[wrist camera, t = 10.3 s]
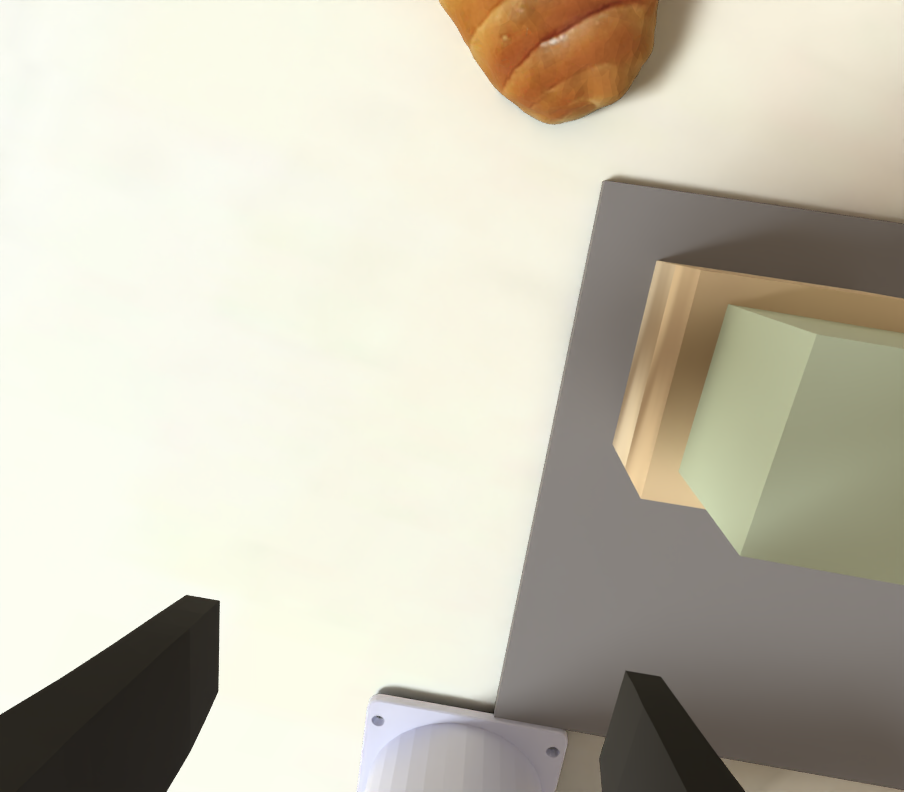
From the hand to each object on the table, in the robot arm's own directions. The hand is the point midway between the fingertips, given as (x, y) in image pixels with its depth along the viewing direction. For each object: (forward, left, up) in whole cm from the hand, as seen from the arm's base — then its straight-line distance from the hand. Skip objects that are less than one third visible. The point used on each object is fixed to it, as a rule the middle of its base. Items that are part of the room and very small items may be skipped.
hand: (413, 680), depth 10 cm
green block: (+5, -8, -6) cm, 11 cm away
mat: (-1, -11, -10) cm, 15 cm away
